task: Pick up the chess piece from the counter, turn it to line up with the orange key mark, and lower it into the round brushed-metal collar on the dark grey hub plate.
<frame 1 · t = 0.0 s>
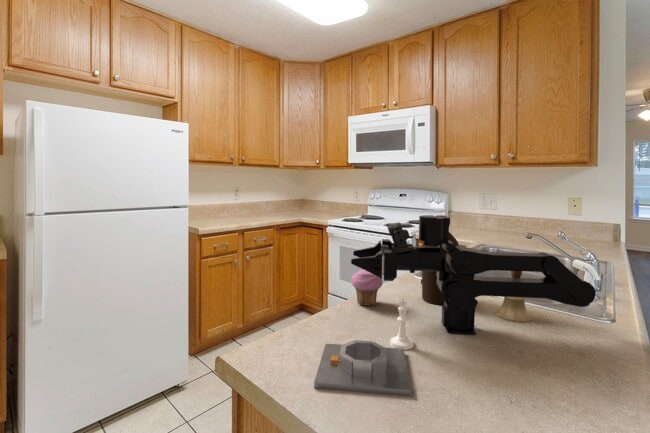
hand: (352, 256, 83), 17 cm above the worktop, tool horizontal, fingers open, 9 cm apart
hand bell: (513, 316, 89), on the worktop
hub: (362, 369, 63), on the worktop
cupcake: (366, 304, 98), on the worktop
chess piece: (401, 345, 73), on the worktop
olive oil: (438, 300, 101), on the worktop
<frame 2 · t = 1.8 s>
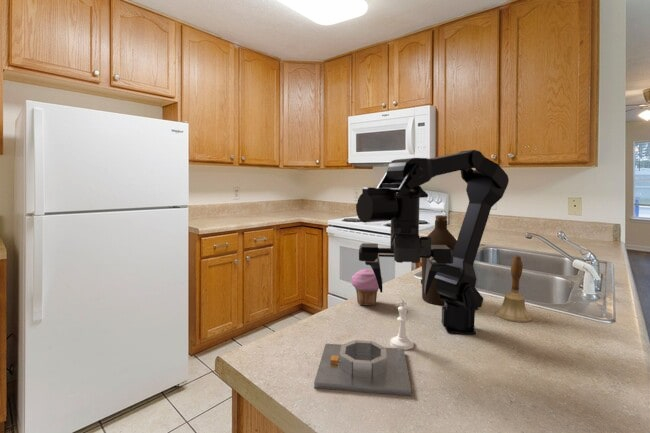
hand: (403, 292, 72), 11 cm above the worktop, tool pointing down, fingers open, 9 cm apart
nothing on the worktop moved.
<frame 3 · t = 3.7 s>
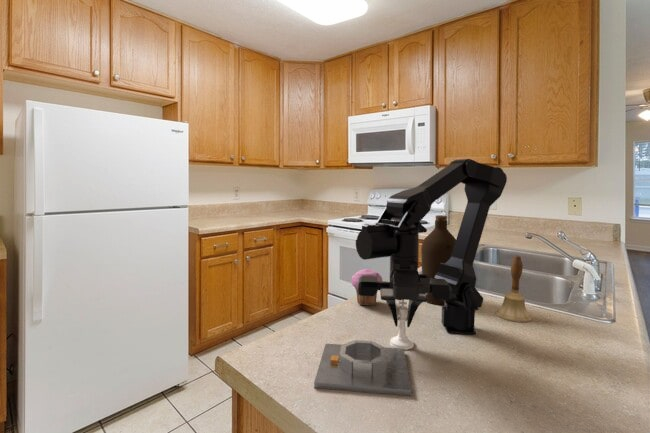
hand: (402, 326, 73), 4 cm above the worktop, tool pointing down, fingers closed on chess piece, 2 cm apart
chess piece: (401, 345, 73), on the worktop, touching gripper
everything else where it was.
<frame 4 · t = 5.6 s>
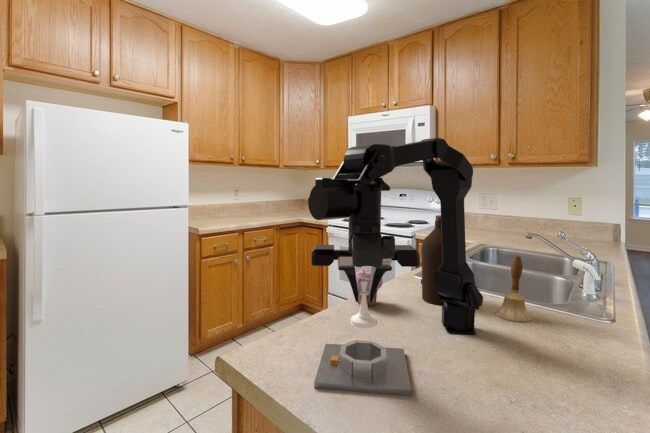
hand: (363, 301, 62), 13 cm above the worktop, tool pointing down, fingers closed on chess piece, 2 cm apart
chess piece: (363, 323, 63), point 9 cm above the worktop, touching gripper
everything else where it was.
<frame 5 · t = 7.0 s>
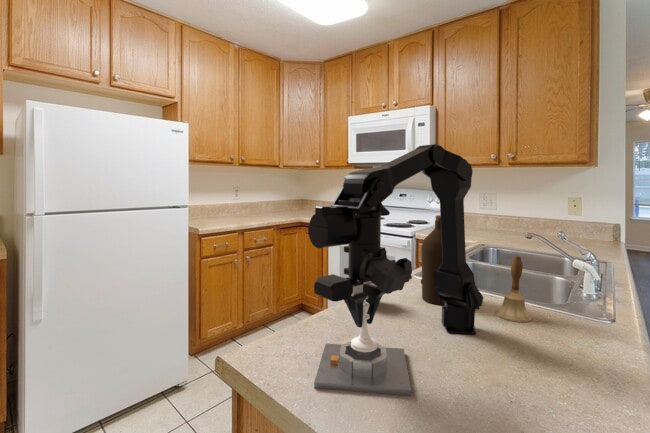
hand: (363, 325, 63), 8 cm above the worktop, tool pointing down, fingers closed on chess piece, 2 cm apart
chess piece: (364, 346, 63), point 4 cm above the worktop, touching gripper
everything else where it was.
when the fingers open (6 cm above the worktop, at t = 8.0 s): chess piece drops 1 cm, resting on hub.
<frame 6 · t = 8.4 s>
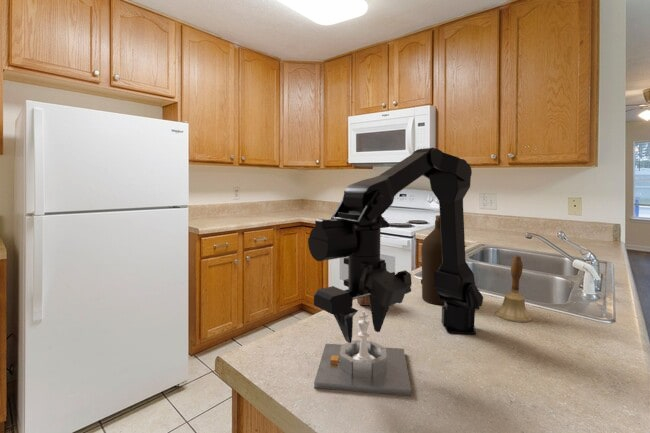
hand: (363, 336, 63), 6 cm above the worktop, tool pointing down, fingers open, 7 cm apart
chess piece: (363, 364, 64), point 1 cm above the worktop, touching hub
everything else where it was.
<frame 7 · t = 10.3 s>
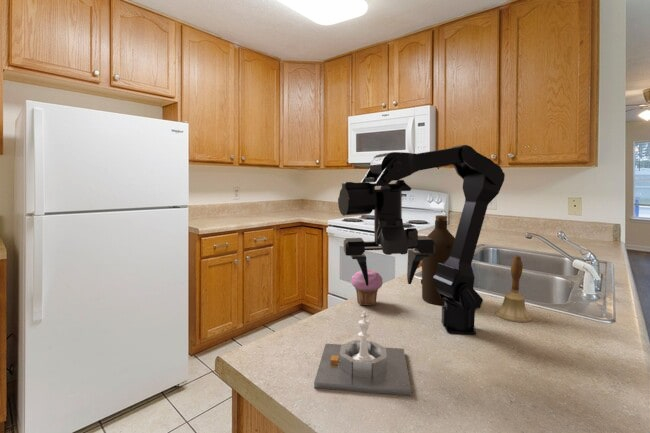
hand: (388, 284, 74), 13 cm above the worktop, tool pointing down, fingers open, 9 cm apart
nothing on the worktop moved.
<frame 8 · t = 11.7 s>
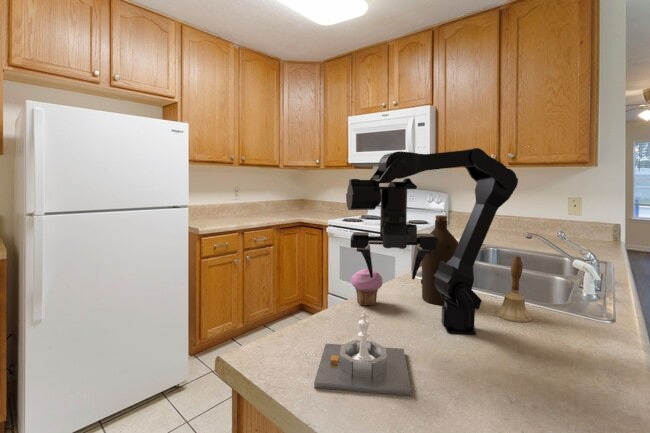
hand: (392, 278, 77), 13 cm above the worktop, tool pointing down, fingers open, 9 cm apart
nothing on the worktop moved.
at the end: chess piece 0.1 cm off-centre on the hub, point 0.8 cm above the hub's base; chess piece tilted 0°; the gripper is holding nothing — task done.
